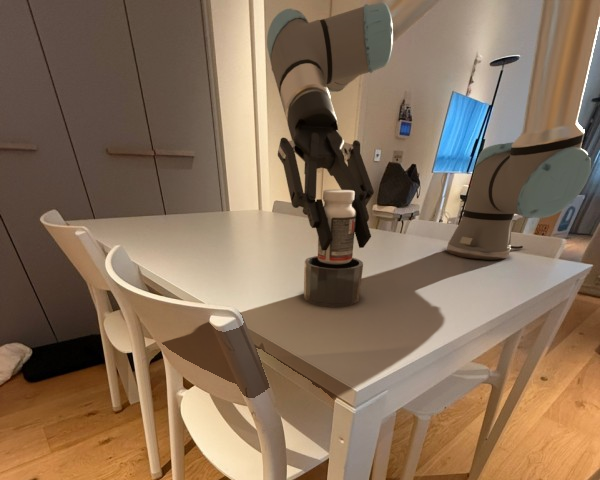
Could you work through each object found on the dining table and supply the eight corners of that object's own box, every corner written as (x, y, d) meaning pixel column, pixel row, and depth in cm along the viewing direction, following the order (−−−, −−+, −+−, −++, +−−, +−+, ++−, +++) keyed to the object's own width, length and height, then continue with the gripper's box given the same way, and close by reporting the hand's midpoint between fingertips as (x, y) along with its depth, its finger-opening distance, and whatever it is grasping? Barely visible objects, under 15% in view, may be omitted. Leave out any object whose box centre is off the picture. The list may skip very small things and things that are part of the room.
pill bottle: (356, 259, 57) (363, 190, 51) (345, 267, 52) (352, 192, 47) (324, 255, 59) (328, 188, 53) (311, 262, 54) (314, 190, 49)
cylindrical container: (349, 288, 64) (352, 254, 60) (366, 305, 56) (371, 268, 52) (299, 290, 62) (300, 255, 59) (310, 308, 54) (311, 270, 51)
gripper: (351, 136, 60) (387, 254, 57) (249, 132, 54) (282, 262, 52) (370, 92, 53) (412, 224, 50) (255, 82, 47) (294, 230, 44)
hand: (346, 243), depth 51 cm, fingers closed on pill bottle, 6 cm apart
